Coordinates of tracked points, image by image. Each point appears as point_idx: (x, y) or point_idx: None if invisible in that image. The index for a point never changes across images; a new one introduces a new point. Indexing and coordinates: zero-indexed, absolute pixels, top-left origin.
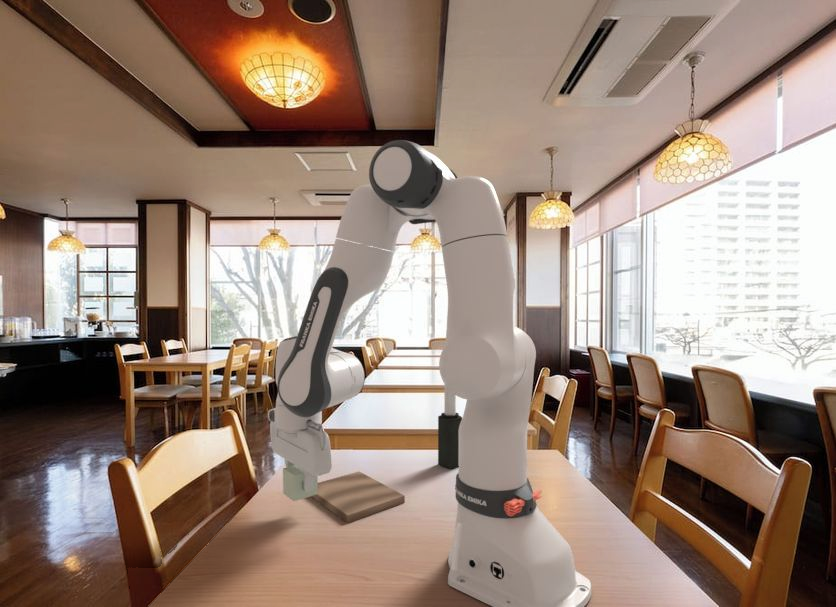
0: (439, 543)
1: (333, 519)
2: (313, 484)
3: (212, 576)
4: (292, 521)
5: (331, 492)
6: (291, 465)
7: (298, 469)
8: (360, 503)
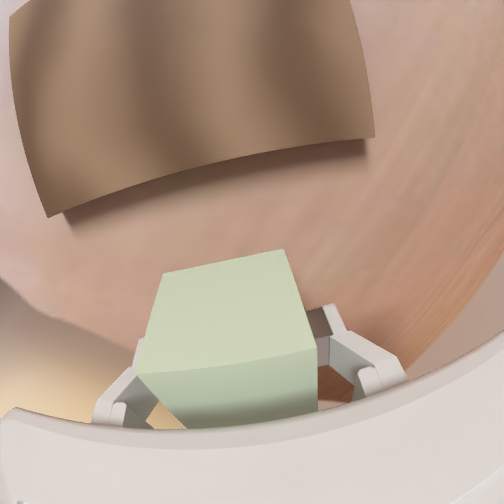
0: (500, 43)
1: (312, 164)
2: (340, 316)
3: None
4: None
5: (129, 126)
6: (138, 404)
7: (250, 410)
8: (308, 48)
